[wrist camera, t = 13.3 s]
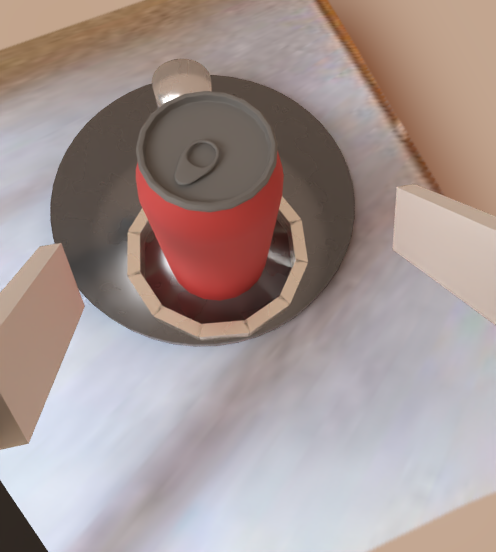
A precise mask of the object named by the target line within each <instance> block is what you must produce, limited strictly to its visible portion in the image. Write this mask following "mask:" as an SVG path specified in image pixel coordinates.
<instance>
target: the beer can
mask: <svg viewBox="0 0 496 552" xmlns="http://www.w3.org/2000/svg"><path fill="white" fill-rule="evenodd" d="M136 154H137V160H138V162H137V167H136V184H137V190H138V197H139V202H140V204H141V206H142V208H143V210H144V212H145V215H146V217H147V219H148V221H149V223H150V225H151V227H152V230H153V232H154V234H155V236H156V238H157V240H158V242H159V245H160V247H161V249H162V251H163V253H164V255H165V258H166V260H167V262H168V264H169V266H170V268H171V270H172V272H173V274H174V276H175V277H176V279H177V281H178V283H179V284H181V285H182V286H183V287H184V288H185V289H186V290H187V291H188V292H189V293H191V294H194V295H196V296H198V297H201V298H203V299H209V300H219V301H220V300H225V299H230V298H235V297H237V296H239V295H241V294H243V293H244V292H246V291H248V290H249V289H250V288H251V287H252V286H253V285H254V284H255V283H256V282H257V281H258V280H259V279H260V276H261V274H262V272H263V270H264V267H265V265H266V261H267V257H268V252H269V248H270V244H271V240H272V236H273V232H274V228H275V223H276V219H277V215H278V211H279V207H280V203H281V198H282V191H283V178H284V175H283V168H282V164H281V160H280V157H279V153H278V144H277V140H276V137H275V133H274V130H273V127H272V126H271V124H270V123H269V122H268V120H267V119H266V117H265V116H264V115H263V113H262V112H261V111H260V110H258V109H257V108H255V107H254V106H253V105H251V104H250V103H249V102H247V101H246V100H244V99H241V98H238V97H236V96H233V95H230V94H228V93H221V92H212V91H201V92H194V93H187V94H183V95H181V96H179V97H176V98H174V99H172V100H169V101H167V102H165V103H164V104H163V105H162V106H160V107H159V108H158V109H157V110H155V111H154V112H153V113H152V114H150V116H149V117H148V119H147V121H146V122H145V124H144V125H143V127H142V128H141V130H140V133H139V137H138V141H137V146H136Z"/></svg>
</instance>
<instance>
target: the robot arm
mask: <svg viewBox="0 0 496 552" xmlns="http://www.w3.org/2000/svg"><path fill="white" fill-rule="evenodd" d="M393 250H394V251H395V252H397V253H398V254H399V255H401V256H402V257H403V258H405V259H406V260H407V261H409V262H410V263H412V264H413V265H414V266H416V267H417V268H418V269H420V270H421V271H422V272H424V273H425V274H426V275H428V276H429V277H431V278H432V279H433V280H435V281H436V282H437V283H439V284H440V285H441V286H443V287H444V288H446V289H447V290H448V291H450V292H451V293H452V294H454V295H455V296H456V297H458V298H459V299H460V300H462V301H463V302H465V303H466V304H467V305H469V306H470V307H471V308H473V309H474V310H475V311H477V312H478V313H480V314H481V315H482V316H484V317H485V318H486V319H488V320H489V321H490V322H492V323H493V324H495V325H496V216H494V215H491V214H488V213H486V212H484V211H481V210H478V209H476V208H473V207H471V206H469V205H466V204H464V203H461V202H459V201H456V200H453V199H451V198H448V197H446V196H443V195H441V194H438V193H436V192H433V191H431V190H428V189H426V188H423V187H421V186H418V185H416V184H412V185H406V186H400V187H397V191H396V206H395V221H394V236H393ZM84 307H85V306H84V303H83V300H82V298H81V295H80V292H79V290H78V287H77V284H76V281H75V279H74V276H73V273H72V271H71V268H70V265H69V263H68V260H67V257H66V254H65V252H64V249H63V246H62V244H61V243H58V244H52V245H46V246H40V247H39V248H38V249H37V250H36V251H35V253H34V254H33V255H32V256H31V257H30V259H29V260H28V261H27V262H26V263H25V264H24V266H23V267H22V268H21V269H20V270H19V271H18V273H17V274H16V275H15V276H14V277H13V279H12V280H11V281H10V282H9V283H8V284H7V286H6V287H5V288H4V289H3V290H2V291H1V293H0V450H1V449H6V448H10V447H15V446H20V445H24V444H29V441H30V439H31V436H32V434H33V432H34V429H35V427H36V424H37V422H38V419H39V417H40V414H41V412H42V410H43V407H44V405H45V402H46V400H47V397H48V395H49V392H50V390H51V388H52V385H53V383H54V380H55V378H56V375H57V373H58V370H59V368H60V366H61V363H62V361H63V358H64V356H65V353H66V351H67V348H68V346H69V344H70V341H71V339H72V336H73V334H74V331H75V329H76V327H77V324H78V322H79V319H80V317H81V314H82V312H83V309H84ZM0 552H48V551H47V549H46V548H45V546H44V545H43V543H42V542H41V540H40V539H39V537H38V536H37V534H36V533H35V531H34V530H33V529H32V527H31V526H30V524H29V523H28V521H27V520H26V518H25V517H24V515H23V514H22V512H21V511H20V509H19V508H18V506H17V505H16V503H15V502H14V500H13V499H12V497H11V496H10V494H9V493H8V491H7V490H6V488H5V487H4V485H3V484H2V482H1V481H0Z"/></svg>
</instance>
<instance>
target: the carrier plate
mask: <svg viewBox="0 0 496 552" xmlns="http://www.w3.org/2000/svg"><path fill="white" fill-rule="evenodd" d="M201 91H212V92H221V93H228V94H230V95H233V96H236V97H238V98H241V99H244V100H246V101H247V102H249V103H250V104H251V105H253V106H254V107H255V108H257V109H258V110H260V111H261V112H262V113H263V115H264V116H265V117H266V119H267V120H268V122H269V123H270V124H271V126H272V127H273V130H274V133H275V137H276V140H277V144H278V153H279V157H280V160H281V164H282V168H283V175H284V178H283V191H282V198H281V203H280V207H279V211H278V215H277V219H276V223H275V228H274V232H273V236H272V240H271V244H270V248H269V252H268V257H267V261H266V265H265V267H264V270H263V272H262V274H261V276H260V279H259V280H258V281H257V282H256V283H255V284H254V285H253V286H252V287H251V288H250V289H249V290H248V291H246V292H244V293H243V294H241V295H239V296H237V297H235V298H230V299H225V300H220V301H219V300H209V299H203V298H201V297H198V296H196V295H194V294H191V293H189V292H188V291H187V290H186V289H185V288H184V287H183V286H182V285H181V284H179V283H178V281H177V279H176V277H175V276H174V274H173V272H172V270H171V268H170V266H169V264H168V262H167V260H166V258H165V255H164V253H163V251H162V249H161V247H160V245H159V242H158V240H157V238H156V236H155V234H154V232H153V230H152V227H151V225H150V223H149V221H148V219H147V217H146V215H145V212H144V210H143V208H142V206H141V204H140V202H139V197H138V190H137V184H136V167H137V162H138V160H137V154H136V146H137V141H138V137H139V133H140V130H141V128H142V127H143V125H144V124H145V122H146V121H147V119H148V117H149V116H150V114H152V113H153V112H154V111H155V110H157V109H158V108H159V107H160V106H162V105H163V104H164V103H165V102H167V101H169V100H172V99H174V98H176V97H179V96H181V95H183V94H187V93H194V92H201ZM353 223H354V193H353V185H352V181H351V177H350V174H349V170H348V167H347V165H346V162H345V160H344V158H343V155H342V153H341V151H340V149H339V148H338V146H337V145H336V143H335V141H334V140H333V138H332V137H331V135H330V134H329V133H328V132H327V130H326V129H325V128H324V127H323V125H322V124H321V123H320V122H319V121H318V120H317V119H316V118H315V117H314V116H313V115H312V114H311V113H310V112H308V111H307V110H306V109H304V108H303V107H302V106H300V105H299V104H298V103H296V102H295V101H293V100H291V99H290V98H288V97H286V96H285V95H283V94H281V93H279V92H277V91H275V90H273V89H270V88H268V87H266V86H263V85H260V84H257V83H254V82H251V81H247V80H243V79H238V78H234V77H226V76H217V75H210V74H209V72H208V71H207V69H206V68H205V67H204V66H203V65H201V64H200V63H198V62H196V61H193V60H189V59H175V60H171V61H168V62H166V63H164V64H163V65H161V66H160V67H159V68H158V69H157V70H156V71H155V73H154V75H153V78H152V84H149V85H146V86H143V87H141V88H139V89H136V90H134V91H132V92H129V93H128V94H126V95H124V96H122V97H121V98H119V99H117V100H115V101H114V102H112V103H111V104H109V105H108V106H107V107H105V108H104V109H103V110H101V111H100V112H99V113H98V114H97V115H96V116H94V117H93V118H92V119H91V120H90V121H89V122H88V123H87V124H86V125H85V126H84V128H83V129H82V130H81V131H80V132H79V133H78V135H77V136H76V137H75V139H74V140H73V142H72V143H71V145H70V146H69V148H68V149H67V151H66V153H65V155H64V157H63V159H62V161H61V164H60V166H59V168H58V171H57V174H56V178H55V181H54V184H53V190H52V197H51V226H52V233H53V239H54V242H55V244H58V243H61V244H62V246H63V249H64V252H65V254H66V257H67V260H68V263H69V265H70V268H71V271H72V273H73V276H74V279H75V281H76V284H77V287H78V289H79V290H80V291H81V292H82V293H83V295H84V296H85V297H86V298H87V299H88V300H89V301H90V302H91V303H92V304H93V305H94V306H96V307H97V308H98V309H100V310H101V311H102V312H103V313H105V314H106V315H107V316H109V317H110V318H111V319H113V320H114V321H116V322H118V323H119V324H121V325H123V326H125V327H126V328H128V329H130V330H132V331H134V332H136V333H139V334H141V335H144V336H146V337H149V338H151V339H154V340H158V341H162V342H167V343H171V344H176V345H185V346H195V347H196V346H220V345H226V344H232V343H238V342H242V341H245V340H248V339H252V338H255V337H258V336H261V335H263V334H265V333H267V332H270V331H272V330H274V329H276V328H278V327H280V326H281V325H283V324H285V323H286V322H288V321H289V320H291V319H293V318H294V317H296V316H297V315H298V314H299V313H300V312H302V311H303V310H304V309H305V308H306V307H308V306H309V305H310V304H311V303H312V302H313V301H314V300H315V298H316V297H317V296H318V295H319V294H320V293H321V292H322V291H323V290H324V288H325V287H326V286H327V285H328V283H329V282H330V280H331V279H332V277H333V276H334V274H335V273H336V271H337V270H338V268H339V266H340V264H341V262H342V260H343V258H344V256H345V254H346V251H347V248H348V245H349V241H350V238H351V235H352V229H353Z"/></svg>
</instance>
